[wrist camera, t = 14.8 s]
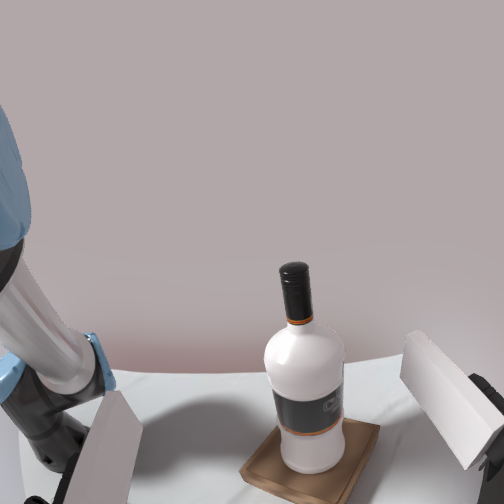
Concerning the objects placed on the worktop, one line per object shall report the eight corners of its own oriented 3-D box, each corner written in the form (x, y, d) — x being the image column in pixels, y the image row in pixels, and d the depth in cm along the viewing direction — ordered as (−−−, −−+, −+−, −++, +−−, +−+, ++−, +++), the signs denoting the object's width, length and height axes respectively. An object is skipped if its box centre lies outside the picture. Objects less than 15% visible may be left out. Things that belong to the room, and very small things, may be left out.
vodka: (286, 429, 39) (253, 252, 30) (344, 427, 36) (342, 243, 28) (277, 475, 30) (227, 292, 22) (343, 475, 28) (352, 282, 19)
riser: (244, 481, 33) (238, 470, 32) (294, 417, 45) (292, 403, 44) (337, 517, 24) (338, 509, 23) (377, 438, 36) (380, 424, 35)
